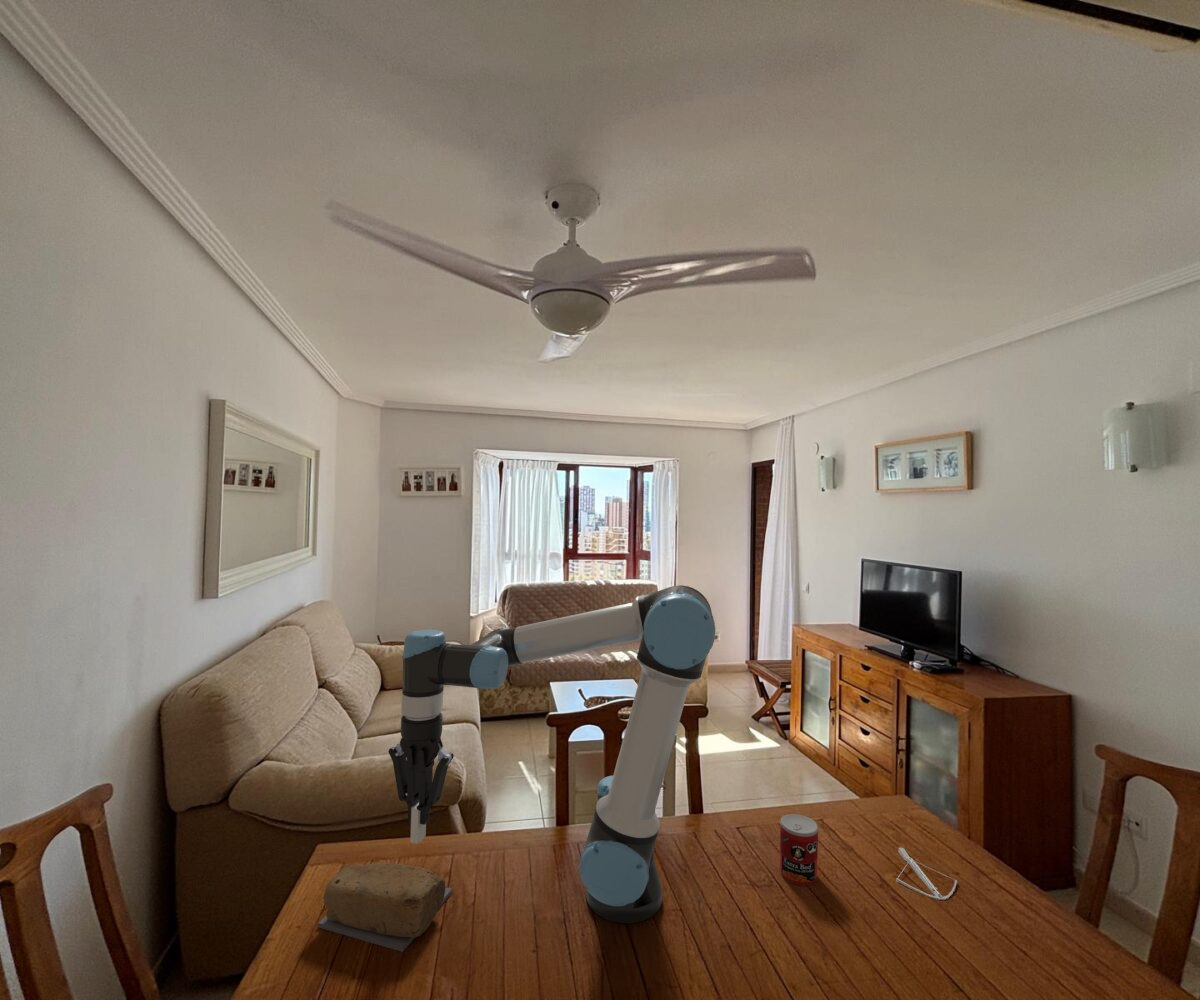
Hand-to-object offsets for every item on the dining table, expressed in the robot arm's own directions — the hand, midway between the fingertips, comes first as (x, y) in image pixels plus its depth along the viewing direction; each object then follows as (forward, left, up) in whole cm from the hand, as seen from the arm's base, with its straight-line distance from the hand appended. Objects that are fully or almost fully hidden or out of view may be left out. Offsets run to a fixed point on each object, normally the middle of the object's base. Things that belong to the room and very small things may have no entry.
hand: (418, 839), depth 107 cm
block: (-5, +2, -10) cm, 11 cm away
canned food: (-70, -37, -15) cm, 81 cm away
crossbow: (-95, -46, -15) cm, 107 cm away
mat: (+6, 0, -15) cm, 16 cm away
